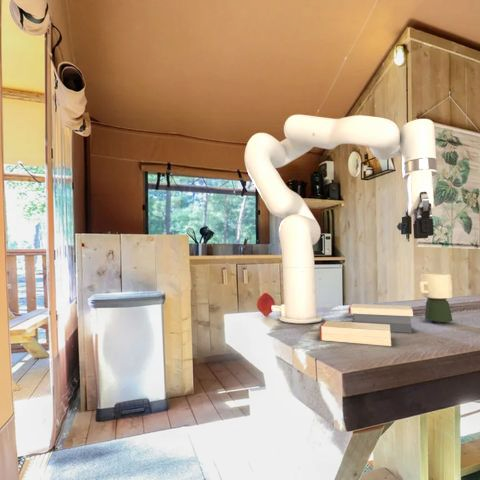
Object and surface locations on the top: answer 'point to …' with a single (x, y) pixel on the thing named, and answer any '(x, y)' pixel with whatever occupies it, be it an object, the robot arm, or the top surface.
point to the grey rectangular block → (386, 321)
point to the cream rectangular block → (355, 332)
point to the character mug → (437, 296)
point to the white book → (381, 309)
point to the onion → (265, 304)
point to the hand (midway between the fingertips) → (423, 237)
